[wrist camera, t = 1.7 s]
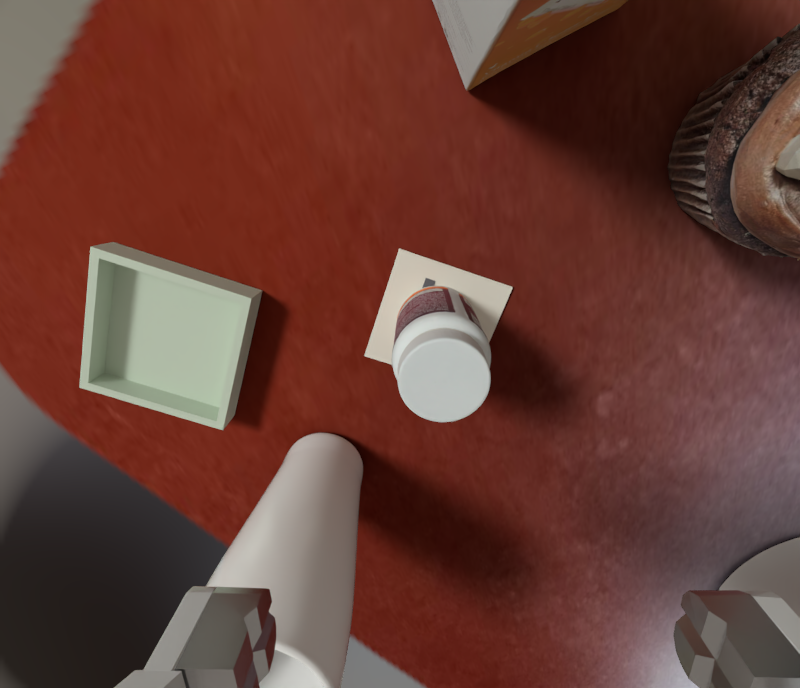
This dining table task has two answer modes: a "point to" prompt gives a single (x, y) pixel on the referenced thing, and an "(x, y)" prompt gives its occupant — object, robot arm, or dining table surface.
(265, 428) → the dining table surface
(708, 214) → the cupcake
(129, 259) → the sage tray
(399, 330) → the pill bottle
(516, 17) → the small box
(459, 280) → the coaster
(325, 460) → the drinking glass
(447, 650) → the dining table surface
